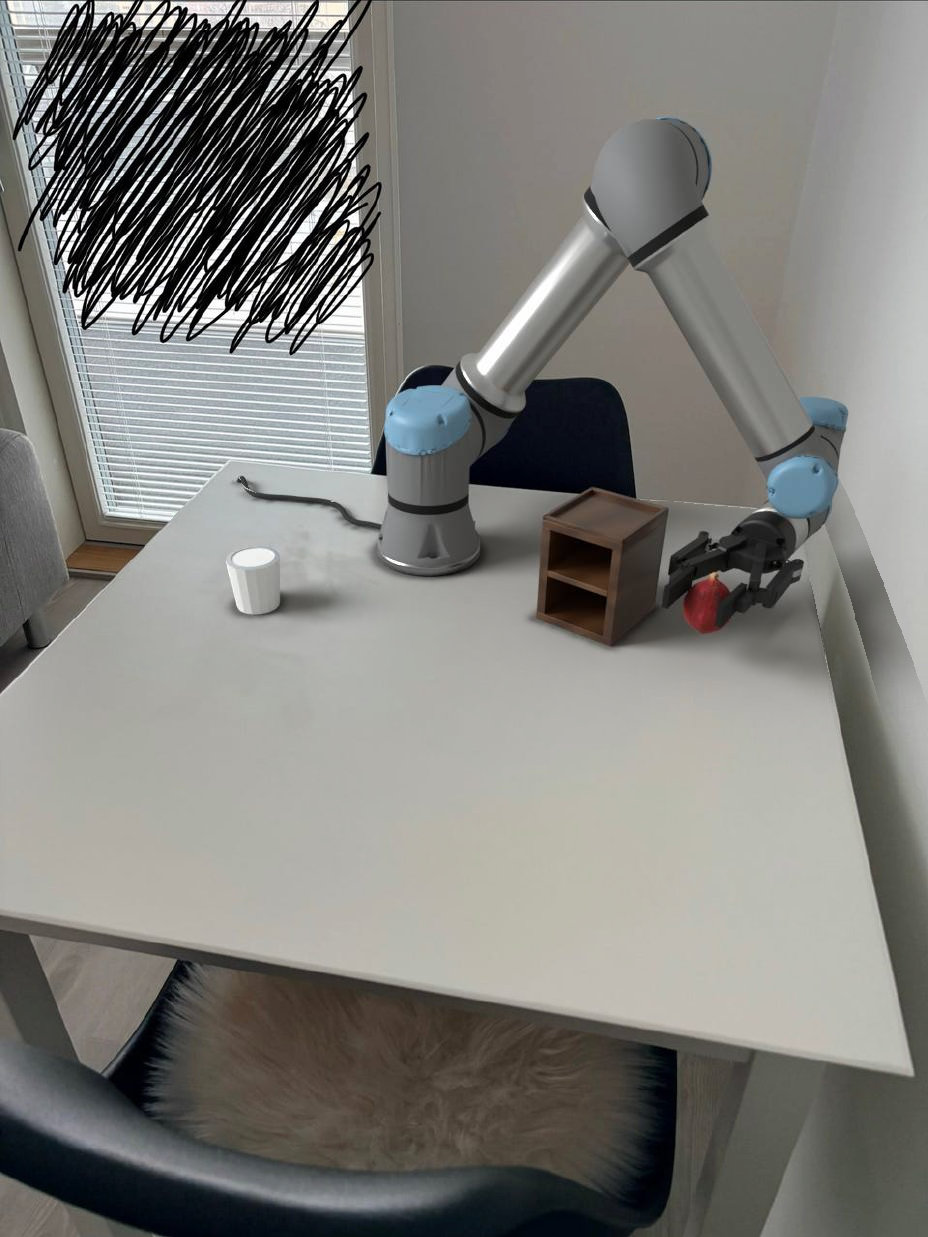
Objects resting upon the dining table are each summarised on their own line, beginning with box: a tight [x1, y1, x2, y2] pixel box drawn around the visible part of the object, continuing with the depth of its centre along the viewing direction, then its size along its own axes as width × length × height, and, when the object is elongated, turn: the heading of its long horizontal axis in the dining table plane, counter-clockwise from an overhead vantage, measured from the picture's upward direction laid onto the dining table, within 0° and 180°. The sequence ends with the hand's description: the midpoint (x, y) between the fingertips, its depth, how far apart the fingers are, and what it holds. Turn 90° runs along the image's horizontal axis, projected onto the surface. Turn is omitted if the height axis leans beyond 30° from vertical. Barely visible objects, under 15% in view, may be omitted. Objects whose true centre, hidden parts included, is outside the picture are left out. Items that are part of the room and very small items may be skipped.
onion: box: [681, 572, 732, 635], centre depth 102 cm, size 6×6×8 cm
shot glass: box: [225, 545, 281, 616], centre depth 115 cm, size 7×7×7 cm
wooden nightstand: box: [535, 486, 670, 647], centre depth 112 cm, size 11×12×15 cm
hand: (692, 606), depth 98 cm, fingers closed on onion, 6 cm apart
